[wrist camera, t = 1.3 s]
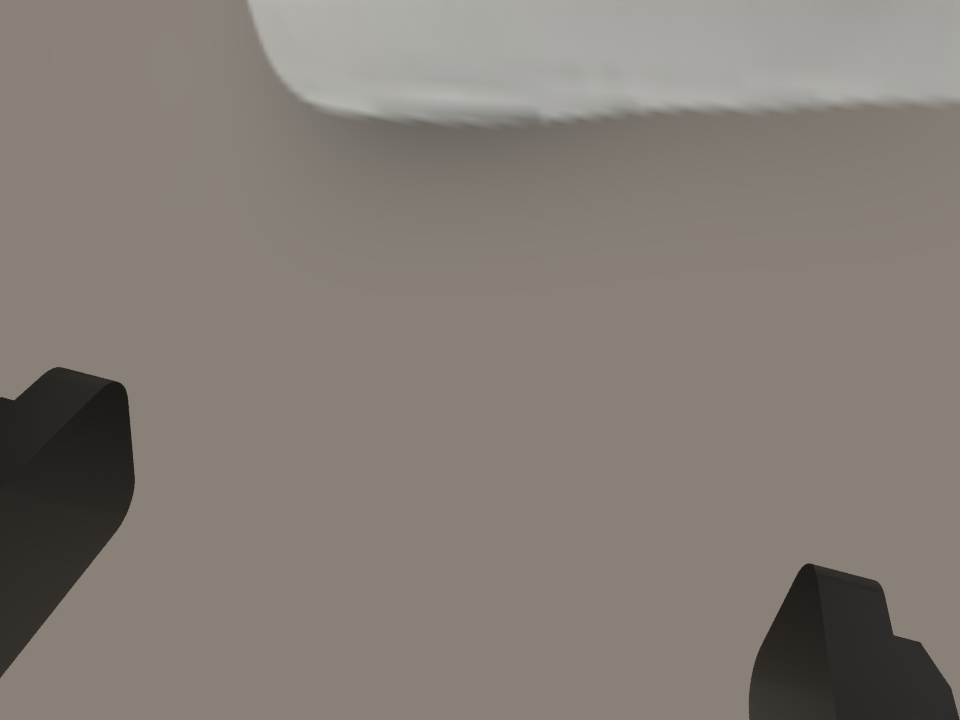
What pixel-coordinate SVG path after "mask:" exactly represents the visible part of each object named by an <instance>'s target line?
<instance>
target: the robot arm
mask: <svg viewBox="0 0 960 720" xmlns="http://www.w3.org/2000/svg"><path fill="white" fill-rule="evenodd" d="M134 483H135V475H134V463H133V451H132V440H131V428H130V417H129V405H128V396H127V392H126V389H125V387H124V386H123V385H122V384H121V383H119V382H116V381H112V380H109V379H104V378H100V377H97V376H93V375H89V374H85V373H82V372H78V371H74V370H70V369H66V368H62V367H56V368H53V369H51V370H49V371H47V372H46V373H45V374H43V375H42V376H41V377H40V378H39V379H38V380H37V381H36V382H34V383H33V384H32V385H31V386H30V387H29V388H28V389H27V390H25V391H24V392H23V393H22V394H21V395H20V396H19V397H18V398H16V399H15V400H10V399H6V398H3V397H1V398H0V678H1V676H2V675H3V674H4V673H5V671H6V670H7V669H8V668H9V666H10V665H11V664H12V662H13V661H14V660H15V658H16V657H17V656H18V655H19V653H20V652H21V651H22V650H23V649H24V647H25V646H26V645H27V643H28V642H29V641H30V640H31V638H32V637H33V636H34V634H35V633H36V632H37V631H38V630H39V628H40V627H41V625H43V623H44V622H45V621H46V619H47V618H48V617H49V616H50V614H51V613H52V612H53V610H54V609H55V608H56V607H57V606H58V604H59V603H60V602H61V600H62V599H63V598H64V597H65V595H66V594H67V593H68V591H69V590H70V589H71V588H72V586H73V585H74V584H75V583H76V582H77V580H78V579H79V578H80V577H81V575H82V574H83V573H84V571H85V570H86V569H87V568H88V566H89V565H90V564H91V563H92V561H93V560H94V559H95V558H96V556H97V555H98V554H99V553H100V551H101V550H102V549H103V547H104V546H105V545H106V544H107V542H108V541H109V540H110V539H111V537H112V536H113V535H114V534H115V532H116V531H117V530H118V528H119V527H120V525H121V524H122V522H123V520H124V518H125V516H126V514H127V512H128V509H129V506H130V503H131V500H132V496H133V492H134ZM749 719H750V720H959V716H958V712H957V709H956V705H955V701H954V697H953V694H952V690H951V687H950V686H949V685H948V683H947V681H946V680H945V678H944V677H943V676H942V674H941V673H940V671H939V670H938V668H937V667H936V665H935V664H934V662H933V661H932V659H931V658H930V656H929V655H928V653H927V652H926V650H925V649H924V647H923V646H922V644H921V643H920V642H917V641H913V640H909V639H906V638H902V637H898V636H894V635H893V631H892V627H891V622H890V617H889V613H888V608H887V604H886V599H885V595H884V592H883V589H882V587H881V585H880V584H879V583H878V582H877V581H875V580H871V579H867V578H864V577H860V576H856V575H852V574H848V573H844V572H840V571H837V570H833V569H829V568H825V567H821V566H817V565H814V564H806V565H804V566H803V567H802V568H801V570H800V571H799V572H798V574H797V576H796V578H795V580H794V582H793V584H792V586H791V588H790V590H789V592H788V594H787V596H786V598H785V600H784V602H783V604H782V606H781V608H780V610H779V612H778V614H777V615H776V618H775V620H774V622H773V624H772V625H771V627H770V630H769V632H768V633H767V635H766V637H765V639H764V641H763V643H762V645H761V647H760V650H759V652H758V655H757V657H756V660H755V664H754V668H753V672H752V677H751V684H750V691H749Z"/></svg>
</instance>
